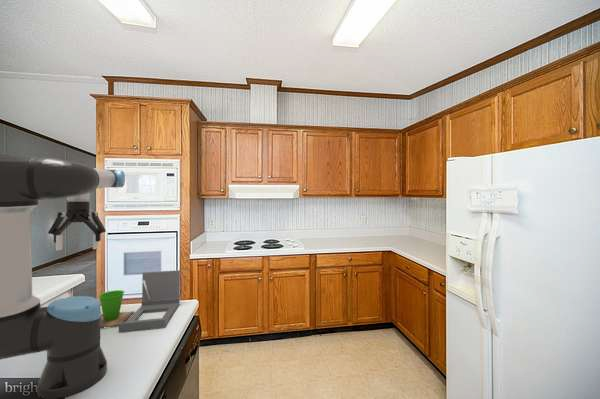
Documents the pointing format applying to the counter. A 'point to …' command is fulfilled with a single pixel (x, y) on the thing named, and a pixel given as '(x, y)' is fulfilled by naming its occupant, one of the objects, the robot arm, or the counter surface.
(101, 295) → the cup
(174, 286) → the equipment case
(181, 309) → the counter surface
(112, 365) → the counter surface
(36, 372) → the counter surface
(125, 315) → the board
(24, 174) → the robot arm
